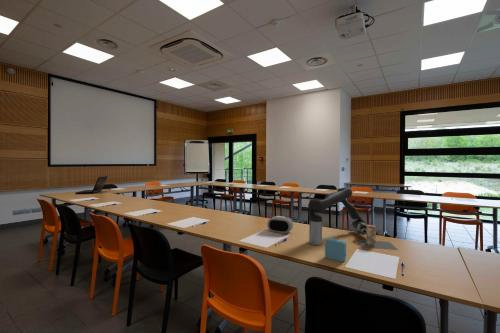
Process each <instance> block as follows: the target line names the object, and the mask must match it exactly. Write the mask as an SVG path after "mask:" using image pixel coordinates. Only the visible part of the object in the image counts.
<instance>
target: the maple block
mask: <svg viewBox="0 0 500 333" xmlns="http://www.w3.org/2000/svg"><path fill="white" fill-rule="evenodd" d="M366 225H367V229H366V235H365V237H366V238H365V240H366V244H367V245H368V246H375V244H376V241H377V239H376V238H377V235H376V231H377V226H375V225H374V224H366Z"/></svg>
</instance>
